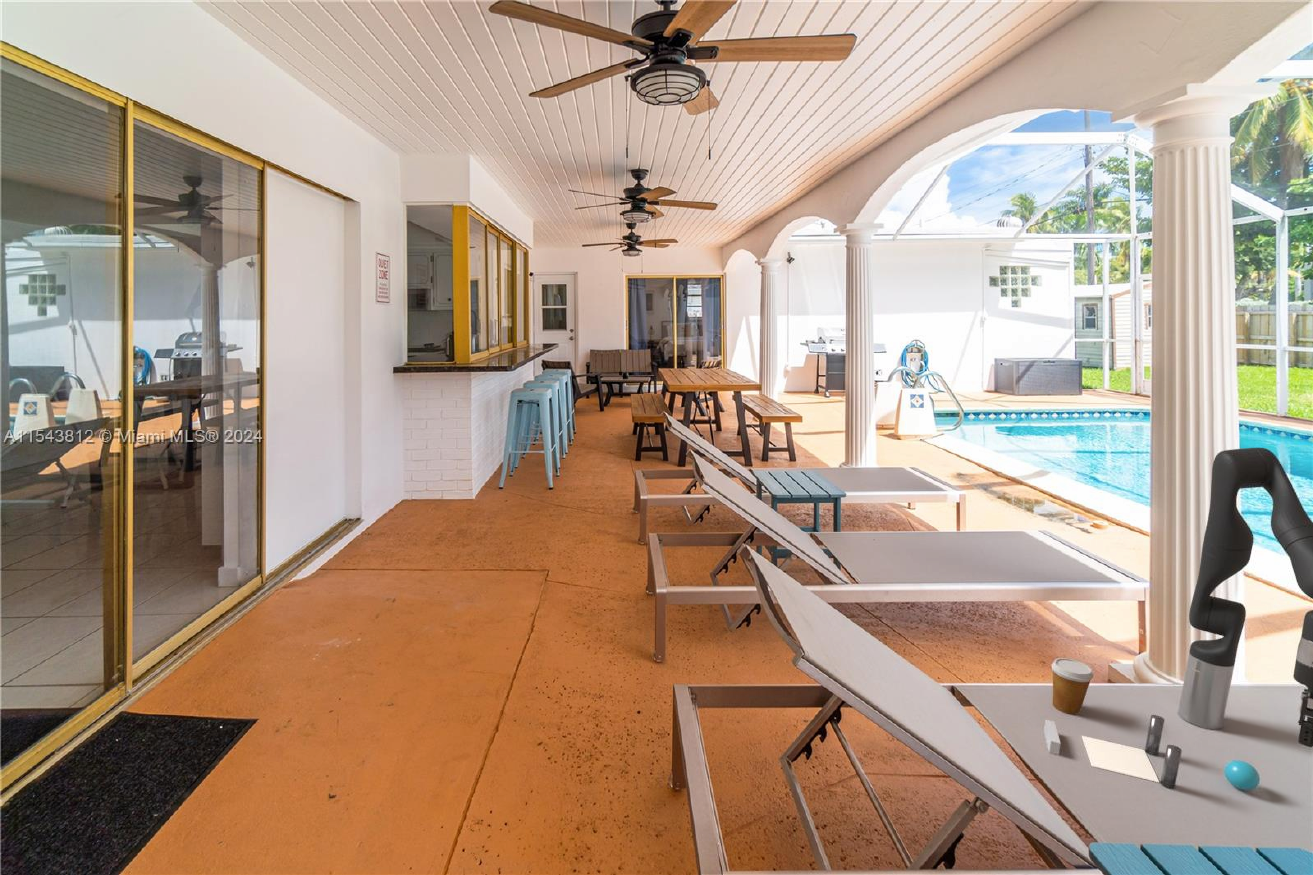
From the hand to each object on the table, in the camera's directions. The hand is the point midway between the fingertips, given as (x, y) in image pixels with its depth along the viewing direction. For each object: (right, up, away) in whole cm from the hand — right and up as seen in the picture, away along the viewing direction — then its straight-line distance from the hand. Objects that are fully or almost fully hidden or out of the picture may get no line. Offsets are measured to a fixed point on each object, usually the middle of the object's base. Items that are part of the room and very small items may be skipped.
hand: (1309, 738), depth 142 cm
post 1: (-16, -14, +24) cm, 31 cm away
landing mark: (-25, -14, +21) cm, 35 cm away
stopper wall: (-38, -12, +26) cm, 48 cm away
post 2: (-21, -15, +12) cm, 28 cm away
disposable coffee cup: (-25, -10, +42) cm, 50 cm away
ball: (-4, -13, +12) cm, 18 cm away
